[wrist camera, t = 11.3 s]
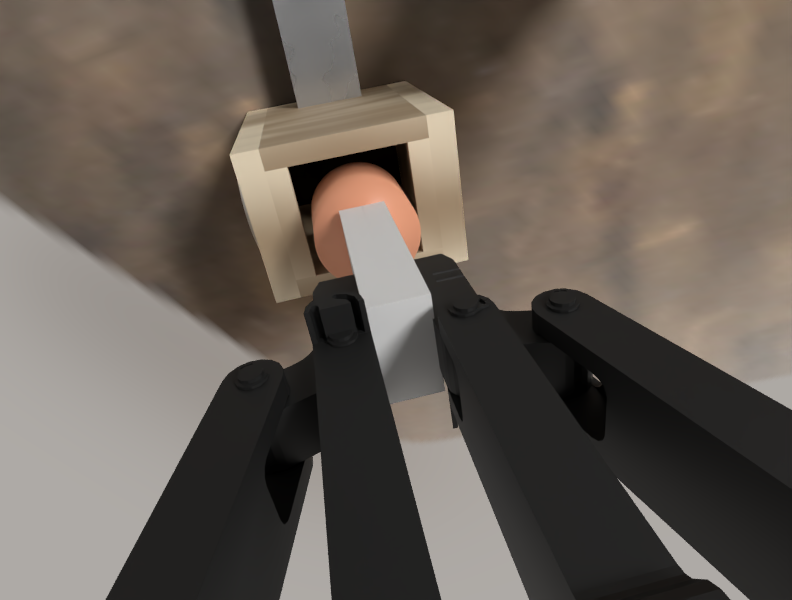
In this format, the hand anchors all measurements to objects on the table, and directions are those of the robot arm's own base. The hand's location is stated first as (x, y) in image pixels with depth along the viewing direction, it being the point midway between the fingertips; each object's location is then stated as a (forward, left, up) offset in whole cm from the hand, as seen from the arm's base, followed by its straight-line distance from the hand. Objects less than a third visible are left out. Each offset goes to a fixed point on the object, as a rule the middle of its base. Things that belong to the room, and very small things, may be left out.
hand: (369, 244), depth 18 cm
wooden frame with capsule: (0, 0, -12) cm, 12 cm away
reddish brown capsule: (0, 0, -3) cm, 3 cm away
